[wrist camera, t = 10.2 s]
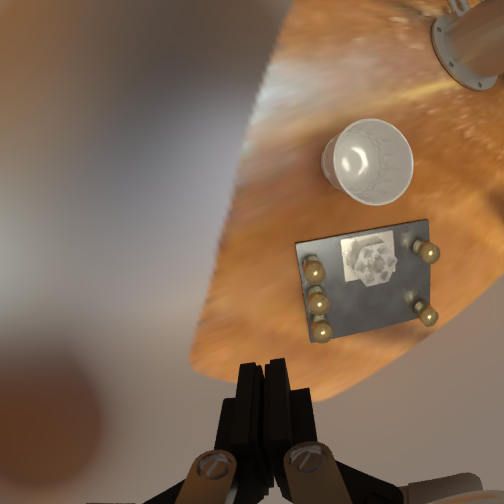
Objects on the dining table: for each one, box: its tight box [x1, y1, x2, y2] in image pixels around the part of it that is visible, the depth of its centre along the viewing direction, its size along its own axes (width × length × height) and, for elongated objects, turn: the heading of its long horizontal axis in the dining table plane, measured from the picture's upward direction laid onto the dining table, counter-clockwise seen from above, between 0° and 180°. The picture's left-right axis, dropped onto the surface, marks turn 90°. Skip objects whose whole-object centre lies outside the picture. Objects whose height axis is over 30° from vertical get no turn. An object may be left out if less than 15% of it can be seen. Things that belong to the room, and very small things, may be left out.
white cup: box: [321, 118, 414, 206], centre depth 29 cm, size 8×8×10 cm
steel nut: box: [348, 238, 397, 287], centre depth 35 cm, size 5×6×2 cm
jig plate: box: [295, 219, 440, 343], centre depth 36 cm, size 14×18×4 cm
